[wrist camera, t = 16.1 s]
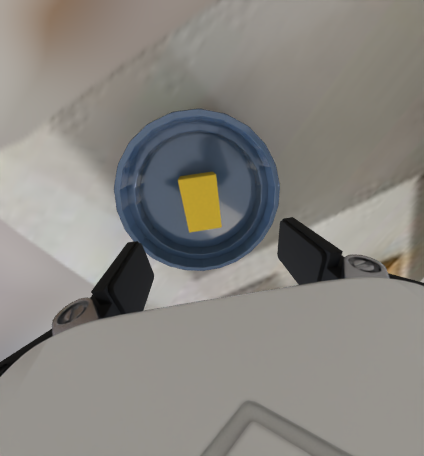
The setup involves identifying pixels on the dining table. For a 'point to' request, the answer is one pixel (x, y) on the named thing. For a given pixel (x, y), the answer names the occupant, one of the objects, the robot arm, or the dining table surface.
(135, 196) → the bowl
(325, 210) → the dining table surface
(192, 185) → the sponge
